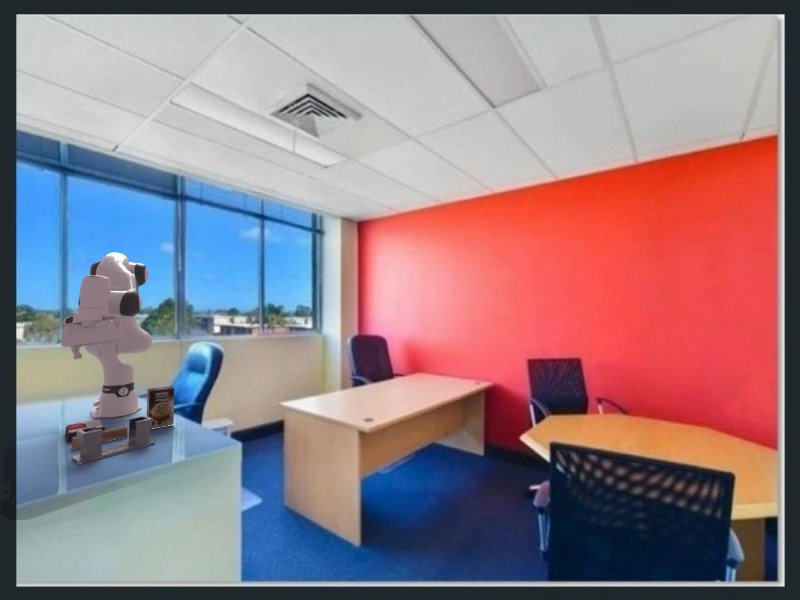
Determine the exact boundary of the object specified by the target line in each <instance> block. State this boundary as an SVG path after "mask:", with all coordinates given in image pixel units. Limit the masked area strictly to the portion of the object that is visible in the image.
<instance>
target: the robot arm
mask: <svg viewBox="0 0 800 600" xmlns="http://www.w3.org/2000/svg"><path fill="white" fill-rule="evenodd" d="M148 279H149V271H148V268H147V266H146V265H145V264H144V263H140V262H139V263H138V262H136V263H135V262H131V261H129V259H128V257H127V256H126V255H125V254H123V253H120V252H110V253H108V254H106V255H105V256H104V257H103V258H101V260H99V261H96V262H94V263H93V264H91V266H90V269H89V275H86V276H84V277H83V278H82V281H81V284H80V289H79V295H78V303H77V304H78V308H77V312H76V313H74V314H72V315H70V316H68V317H66V318H64V319H63V321H62V325H64V327H63V328H62V330H61V336H60V345H61V347H63V348H70V350H71V352H72V354H73V360H81V359H82V358H83V353H80V350H81V347H84V349H85V350H86V352H87V353H89V354H90V355H92V356H93V357H95V359H97V360H98V361H99V362H100V364H101V366H102V371H103V384H102V387H101V394H100V396H98V398H97V400H96V401H93V407H96V408H93V409H90V413H91V416H92V418H93V419H101V418H117V417H123V416H128V415H132V414H134V413H137V412H138V411H140V410H142V406H139V398H138V393H137V392H136V391H135V381H134V367H133V365H132V364H131V363H129V362H127V361H124V360H122V359H120V357H119V355H128V354H129V355H132V354H139V353H144V352H147V351H149V349H150V348H151V346H152V345H153V344H152V343H153V339H152V335H150V333H149V332H147V331H146V330H145V329H143V328H142V327H141V325H140V324H139V322H138V321H137V316H136V315H137V314H139V313H140V312H141V309H142V305H143V304H142V298H141V296H140V293H139V292H140V291H139V288H140V287H141V286H143V285H144V284H145V283H146V282H147V280H148Z"/></svg>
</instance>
